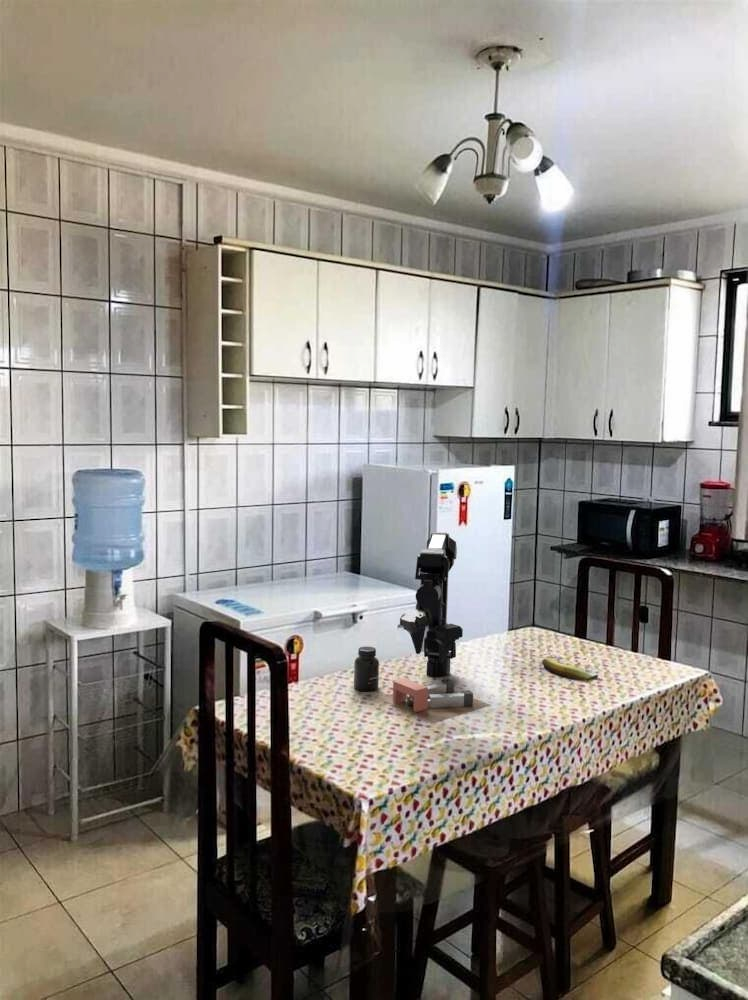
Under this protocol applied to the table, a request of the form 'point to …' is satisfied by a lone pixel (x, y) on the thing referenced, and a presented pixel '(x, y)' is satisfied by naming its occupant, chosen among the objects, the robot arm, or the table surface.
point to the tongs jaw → (451, 700)
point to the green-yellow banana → (566, 670)
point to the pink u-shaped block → (411, 693)
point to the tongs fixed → (436, 689)
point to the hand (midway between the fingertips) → (429, 658)
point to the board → (435, 709)
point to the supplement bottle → (366, 670)
